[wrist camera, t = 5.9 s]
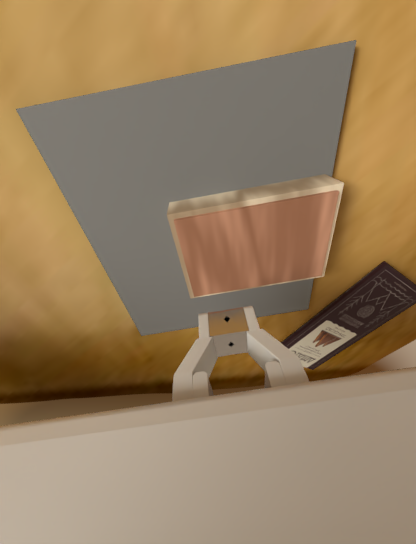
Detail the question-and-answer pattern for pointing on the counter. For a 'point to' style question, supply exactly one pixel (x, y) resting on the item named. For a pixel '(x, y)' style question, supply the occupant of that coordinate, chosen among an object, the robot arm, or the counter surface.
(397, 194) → the counter surface
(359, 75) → the counter surface
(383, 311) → the chocolate bar
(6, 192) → the counter surface
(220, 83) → the mat
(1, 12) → the counter surface
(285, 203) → the wooden block
